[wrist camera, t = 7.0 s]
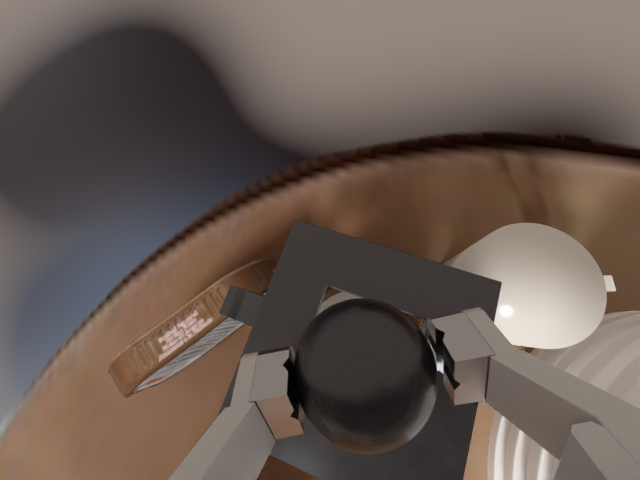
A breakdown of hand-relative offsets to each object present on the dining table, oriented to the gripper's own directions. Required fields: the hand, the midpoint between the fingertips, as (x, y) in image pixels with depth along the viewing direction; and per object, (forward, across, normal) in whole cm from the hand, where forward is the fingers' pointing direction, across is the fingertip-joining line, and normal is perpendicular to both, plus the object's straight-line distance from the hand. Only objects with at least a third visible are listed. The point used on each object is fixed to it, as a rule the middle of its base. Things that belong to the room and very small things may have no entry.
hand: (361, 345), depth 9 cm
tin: (+15, +12, +11) cm, 22 cm away
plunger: (+7, 0, +8) cm, 11 cm away
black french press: (+13, +1, +13) cm, 18 cm away
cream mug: (+14, -11, +12) cm, 21 cm away
